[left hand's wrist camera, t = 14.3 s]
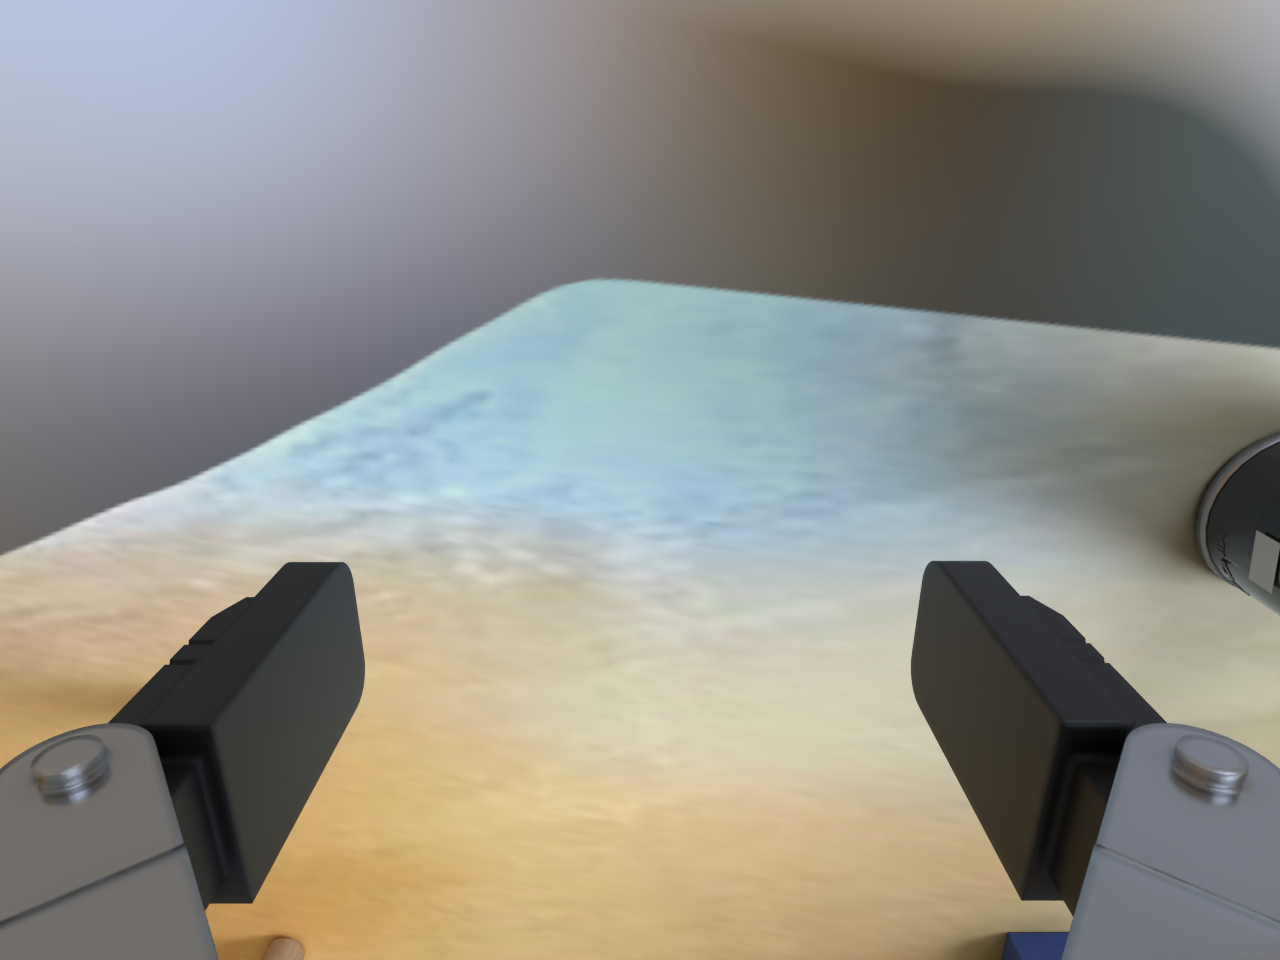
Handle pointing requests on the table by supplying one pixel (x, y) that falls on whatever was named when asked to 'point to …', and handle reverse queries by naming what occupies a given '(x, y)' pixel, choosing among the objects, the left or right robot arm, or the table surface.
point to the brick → (1035, 946)
